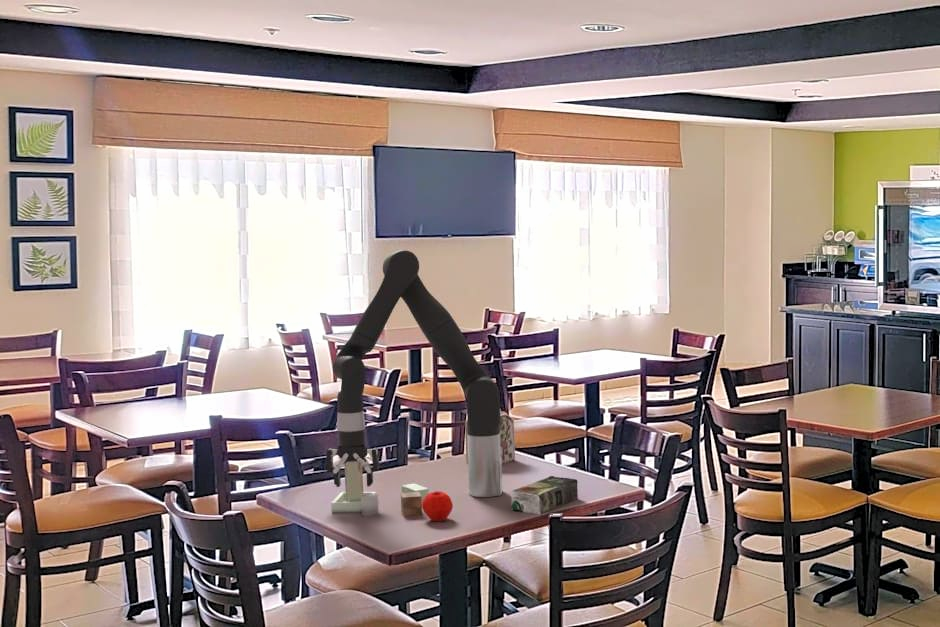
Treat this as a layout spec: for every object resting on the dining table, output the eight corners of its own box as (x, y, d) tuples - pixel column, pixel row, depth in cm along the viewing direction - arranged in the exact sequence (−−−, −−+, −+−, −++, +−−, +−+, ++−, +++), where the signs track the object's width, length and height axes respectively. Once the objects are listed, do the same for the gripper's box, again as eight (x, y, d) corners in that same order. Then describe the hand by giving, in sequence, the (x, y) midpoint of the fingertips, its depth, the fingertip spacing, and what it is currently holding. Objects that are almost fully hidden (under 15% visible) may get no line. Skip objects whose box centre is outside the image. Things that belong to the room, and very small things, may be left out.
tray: (376, 500, 296) (376, 491, 295) (368, 511, 284) (367, 502, 284) (341, 500, 297) (341, 492, 296) (331, 512, 285) (331, 502, 285)
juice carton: (538, 516, 274) (538, 493, 274) (508, 512, 280) (507, 489, 280) (579, 500, 290) (578, 478, 290) (549, 496, 296) (548, 474, 296)
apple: (424, 515, 278) (423, 488, 277) (454, 515, 277) (453, 487, 277) (420, 524, 270) (419, 495, 270) (451, 523, 269) (450, 495, 269)
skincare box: (364, 506, 288) (362, 461, 287) (348, 507, 287) (346, 463, 286) (361, 500, 294) (359, 457, 293) (345, 501, 293) (344, 458, 292)
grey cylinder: (379, 511, 284) (379, 493, 283) (376, 516, 279) (376, 497, 279) (363, 511, 284) (363, 493, 284) (360, 516, 280) (359, 497, 279)
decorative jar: (465, 463, 341) (463, 407, 339) (487, 456, 350) (486, 402, 348) (494, 467, 333) (492, 410, 332) (516, 460, 342) (514, 405, 340)
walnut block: (419, 510, 284) (419, 491, 284) (422, 514, 279) (421, 496, 279) (401, 511, 284) (400, 493, 283) (403, 516, 279) (402, 497, 278)
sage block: (428, 502, 292) (428, 488, 292) (416, 505, 290) (415, 490, 290) (414, 497, 299) (414, 483, 299) (402, 499, 297) (401, 485, 296)
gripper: (379, 424, 292) (381, 482, 293) (329, 425, 293) (331, 483, 294) (374, 430, 284) (376, 489, 285) (322, 430, 286) (325, 489, 287)
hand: (353, 486), depth 290 cm, fingers open, 8 cm apart
